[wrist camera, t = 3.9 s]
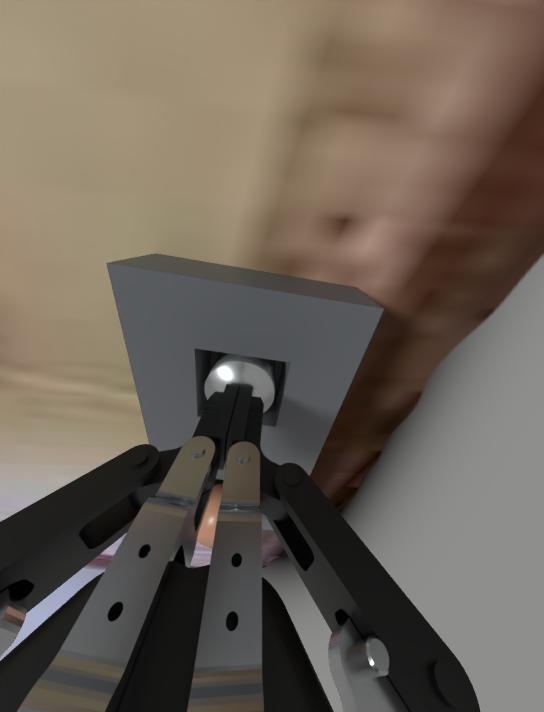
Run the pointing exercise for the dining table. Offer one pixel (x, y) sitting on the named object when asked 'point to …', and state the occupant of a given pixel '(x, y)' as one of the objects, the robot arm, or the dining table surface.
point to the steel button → (243, 376)
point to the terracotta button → (210, 518)
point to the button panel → (240, 346)
